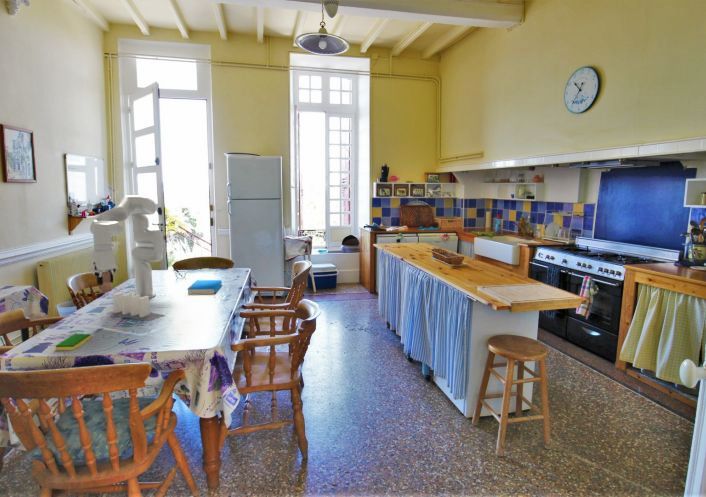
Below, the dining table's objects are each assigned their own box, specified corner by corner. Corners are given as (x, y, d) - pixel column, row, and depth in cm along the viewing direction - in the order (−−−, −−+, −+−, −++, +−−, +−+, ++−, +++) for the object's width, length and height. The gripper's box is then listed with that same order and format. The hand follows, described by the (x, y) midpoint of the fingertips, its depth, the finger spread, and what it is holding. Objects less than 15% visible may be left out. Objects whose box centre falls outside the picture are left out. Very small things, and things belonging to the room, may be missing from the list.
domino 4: (130, 315, 215) (129, 296, 214) (138, 312, 220) (137, 294, 218) (133, 315, 214) (132, 297, 213) (141, 313, 219) (140, 294, 218)
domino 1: (100, 292, 206) (98, 273, 204) (109, 290, 210) (108, 271, 209) (102, 293, 205) (101, 273, 204) (111, 290, 210) (110, 271, 208)
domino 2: (114, 312, 219) (112, 294, 218) (122, 310, 224) (121, 292, 222) (116, 312, 219) (115, 294, 217) (124, 310, 223) (123, 292, 222)
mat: (106, 315, 217) (105, 313, 217) (124, 309, 227) (124, 308, 227) (149, 323, 207) (149, 321, 207) (166, 316, 217) (166, 315, 217)
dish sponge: (55, 351, 171) (54, 345, 171) (74, 339, 185) (73, 333, 184) (73, 351, 172) (73, 345, 172) (91, 338, 185) (90, 333, 185)
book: (187, 288, 263) (196, 279, 287) (187, 295, 263) (196, 285, 288) (215, 288, 265) (221, 279, 289) (215, 295, 266) (222, 285, 290)
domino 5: (139, 317, 213) (138, 298, 211) (147, 314, 217) (146, 295, 216) (141, 317, 212) (140, 298, 211) (149, 314, 217) (148, 296, 215)
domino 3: (122, 314, 217) (121, 295, 216) (130, 311, 222) (129, 293, 220) (124, 314, 216) (123, 295, 215) (132, 311, 221) (131, 293, 220)
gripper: (113, 245, 214) (115, 279, 216) (81, 249, 198) (83, 286, 201) (123, 246, 211) (125, 280, 214) (92, 250, 195) (94, 287, 198)
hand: (105, 283), depth 207 cm, fingers closed on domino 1, 4 cm apart
